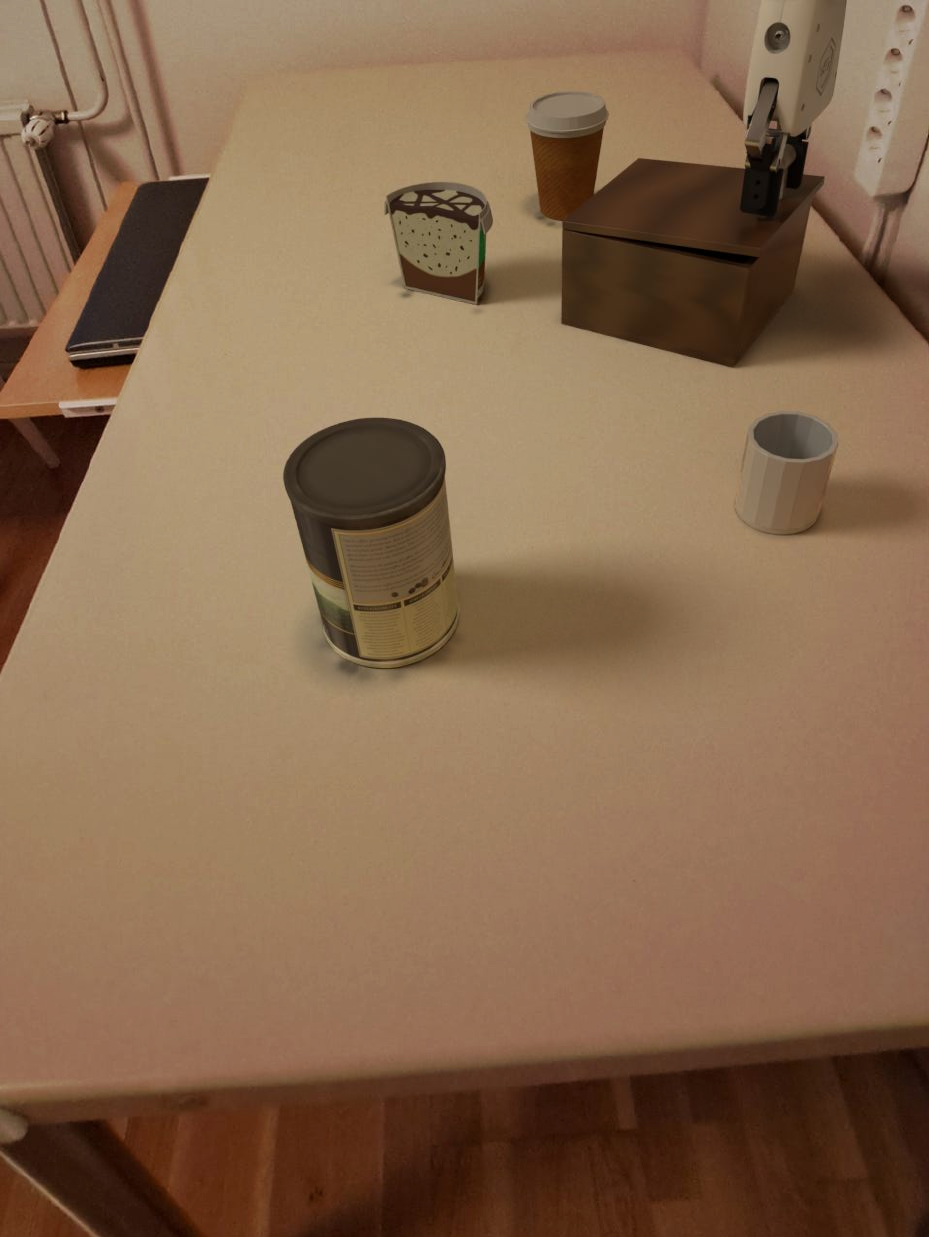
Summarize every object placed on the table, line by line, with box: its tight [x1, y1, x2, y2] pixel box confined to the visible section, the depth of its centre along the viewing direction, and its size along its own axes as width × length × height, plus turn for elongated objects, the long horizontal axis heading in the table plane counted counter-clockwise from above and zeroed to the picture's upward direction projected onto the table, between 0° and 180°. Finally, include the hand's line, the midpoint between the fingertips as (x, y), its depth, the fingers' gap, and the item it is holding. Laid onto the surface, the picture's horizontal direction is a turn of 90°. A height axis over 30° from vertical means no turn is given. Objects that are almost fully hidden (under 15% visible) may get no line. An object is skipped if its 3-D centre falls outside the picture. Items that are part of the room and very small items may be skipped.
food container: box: [383, 181, 494, 306], centre depth 100 cm, size 12×6×10 cm, turn 59°
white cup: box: [734, 410, 839, 536], centre depth 72 cm, size 6×6×7 cm
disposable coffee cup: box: [525, 90, 610, 221], centre depth 111 cm, size 10×10×12 cm
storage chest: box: [560, 196, 814, 368], centre depth 94 cm, size 19×17×10 cm
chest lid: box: [561, 144, 826, 257], centre depth 88 cm, size 19×17×5 cm
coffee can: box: [282, 416, 460, 669], centre depth 64 cm, size 10×10×14 cm
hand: (770, 197), depth 85 cm, fingers closed on chest lid, 5 cm apart
